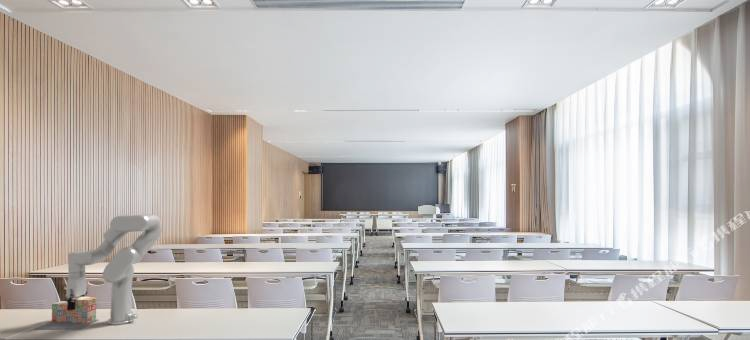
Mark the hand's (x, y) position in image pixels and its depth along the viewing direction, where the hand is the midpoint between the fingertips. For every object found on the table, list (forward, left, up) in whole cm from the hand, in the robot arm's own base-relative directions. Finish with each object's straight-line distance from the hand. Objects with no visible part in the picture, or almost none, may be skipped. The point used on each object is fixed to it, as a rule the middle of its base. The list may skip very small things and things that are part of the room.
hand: (77, 307), depth 240 cm
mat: (+1, +6, -8) cm, 9 cm away
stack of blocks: (+1, 0, -7) cm, 8 cm away
